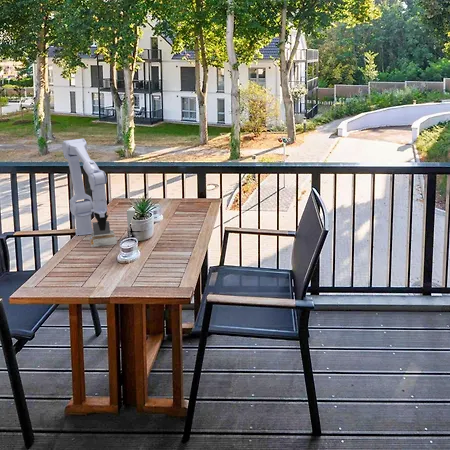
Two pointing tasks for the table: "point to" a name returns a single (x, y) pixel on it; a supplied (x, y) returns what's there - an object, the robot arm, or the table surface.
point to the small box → (130, 214)
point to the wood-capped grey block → (97, 229)
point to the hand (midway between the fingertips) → (102, 229)
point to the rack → (103, 239)
